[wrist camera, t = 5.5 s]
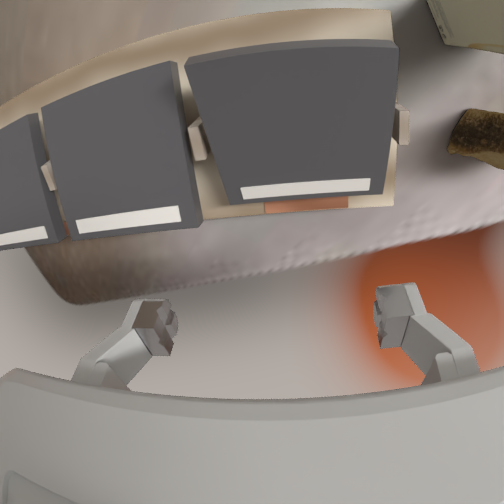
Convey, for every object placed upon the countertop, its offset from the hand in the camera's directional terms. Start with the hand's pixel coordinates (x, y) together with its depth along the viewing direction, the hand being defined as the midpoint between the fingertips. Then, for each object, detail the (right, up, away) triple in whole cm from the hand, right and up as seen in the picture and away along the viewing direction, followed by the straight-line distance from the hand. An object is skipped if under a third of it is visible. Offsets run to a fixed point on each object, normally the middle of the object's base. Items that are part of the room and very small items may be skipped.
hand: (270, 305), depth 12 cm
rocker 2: (+2, +9, +4) cm, 10 cm away
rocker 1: (-21, +7, +8) cm, 23 cm away
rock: (+21, +12, +7) cm, 25 cm away
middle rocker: (-9, +8, +6) cm, 14 cm away
